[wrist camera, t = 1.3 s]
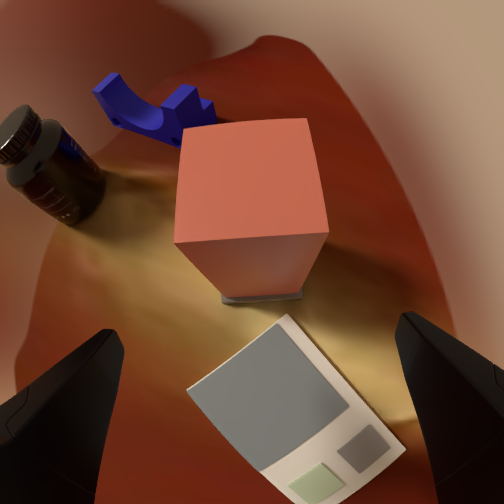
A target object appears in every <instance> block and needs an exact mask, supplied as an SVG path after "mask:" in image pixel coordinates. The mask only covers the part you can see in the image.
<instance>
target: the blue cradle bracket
mask: <svg viewBox="0 0 504 504" xmlns="http://www.w3.org/2000/svg"><path fill="white" fill-rule="evenodd" d="M92 92H93V93H94V95H95V97H96V98H97V100H98V102H99V103H100V105H101V107H102V108H103V110H104V111H105V113H106V114H107V116H108V118H109V119H110V121H111V122H112V124H113V125H114V126H116V127H119V128H122V129H128V130H130V131H133V132H136V133H139V134H142V135H145V136H148V137H151V138H153V139H156V140H159V141H162V142H164V143H167V144H170V145H172V146H175V147H178V148H180V149H181V146H182V138H183V130H184V129H187V128H193V127H200V126H208V125H215V123H216V122H217V117H216V113H215V109H214V105H213V101H210V100H206V99H202V98H199V94H198V91H197V87H194V86H190V85H185V84H182V85H181V86H180V87H179V88H178V89H177V90H176V91H175V92H174V93H173V94H172V95H171V96H170V97H169V98H168V99H167V100H166V101H165V102H164V103H163V104H162V105H161V109H160V108H157V107H155V106H153V105H151V104H149V103H147V102H145V101H144V100H142V99H141V98H140V97H138V96H137V95H136V94H135V93H134V92H133V91H132V90H131V89H130V88H128V86H127V85H126V83H125V82H124V81H123V79H122V78H121V76H120V74H117V73H111V74H110V75H108V76H107V77H106V78H105V79H104V80H103V81H102V82H101V83H100V84H99V85H98V86H97V87H95V88H94V89H93V90H92Z"/></svg>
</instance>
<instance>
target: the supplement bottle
mask: <svg viewBox="0 0 504 504" xmlns="http://www.w3.org/2000/svg"><path fill="white" fill-rule="evenodd" d="M0 165H2V166H3V167H5V177H6V180H7V182H8V184H9V186H10V187H11V188H12V189H13V190H15V191H16V192H18V193H19V194H20V195H22V196H23V197H25V198H26V199H27V200H29V201H30V202H31V203H33V204H34V205H36V206H37V207H39V208H40V209H42V210H43V211H45V212H46V213H47V214H49V215H50V216H52V217H54V218H55V219H57V220H58V221H60V222H61V223H64V224H68V225H72V224H76V223H79V222H81V221H83V220H85V219H86V218H87V217H88V216H90V215H91V214H92V212H93V211H94V210H95V209H96V207H97V206H98V204H99V203H100V201H101V199H102V196H103V193H104V189H105V177H104V174H103V172H102V170H101V169H100V168H99V167H98V166H97V164H96V163H95V162H94V161H93V160H92V159H91V158H90V156H89V155H88V154H87V153H86V152H85V151H84V150H83V149H82V147H81V146H80V145H79V144H78V143H77V142H76V141H75V139H73V137H72V136H71V135H70V134H69V132H68V131H67V130H66V129H65V128H64V127H63V125H62V124H61V123H60V122H58V121H57V120H54V119H44V120H41V118H40V116H39V115H38V114H37V113H35V112H34V111H33V110H32V108H31V107H30V106H29V105H26V104H25V105H22V106H19V107H18V108H16V109H15V110H14V111H13V112H12V113H10V114H9V115H8V117H7V118H6V119H5V120H4V121H3V122H2V123H1V125H0Z"/></svg>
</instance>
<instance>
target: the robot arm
mask: <svg viewBox="0 0 504 504" xmlns="http://www.w3.org/2000/svg"><path fill="white" fill-rule="evenodd" d="M395 341H396V345H397V348H398V352H399V356H400V360H401V364H402V369H403V373H404V377H405V380H406V383H407V386H408V389H409V392H410V395H411V398H412V401H413V404H414V407H415V411H416V414H417V417H418V420H419V424H420V427H421V430H422V434H423V437H424V441H425V445H426V448H427V452H428V456H429V460H430V464H431V469H432V473H433V477H434V482H435V487H436V492H437V498H438V503H439V504H504V370H502V369H501V368H500V367H498V366H497V365H495V364H493V363H492V362H491V361H489V360H488V359H486V358H485V357H483V356H481V355H480V354H479V353H477V352H476V351H474V350H473V349H471V348H469V347H468V346H467V345H465V344H464V343H462V342H461V341H459V340H457V339H456V338H454V337H453V336H451V335H450V334H448V333H447V332H445V331H444V330H442V329H440V328H439V327H437V326H436V325H434V324H433V323H431V322H429V321H428V320H426V319H425V318H423V317H422V316H420V315H418V314H417V313H415V312H413V311H410V312H404V313H402V314H401V315H400V317H399V321H398V324H397V328H396V331H395ZM123 358H124V347H123V345H122V342H121V340H120V338H119V336H118V334H117V332H116V331H115V330H114V329H102V330H101V331H100V332H98V333H97V334H95V335H94V336H93V337H91V338H90V339H89V340H87V341H86V342H85V343H83V344H82V345H81V346H79V347H78V348H77V349H75V350H74V351H73V352H71V353H70V354H68V355H67V356H66V357H64V358H63V359H62V360H61V361H59V362H58V363H57V364H55V365H54V366H53V367H51V368H50V369H49V370H47V371H46V372H45V373H43V374H42V375H41V376H39V377H38V378H37V379H36V380H34V381H33V382H32V383H30V385H28V386H26V387H25V388H24V389H23V390H21V391H20V392H19V393H17V394H16V395H15V396H13V397H12V398H11V399H9V400H8V401H6V402H5V403H3V404H2V405H0V504H94V501H95V493H96V487H97V481H98V475H99V470H100V465H101V459H102V455H103V450H104V445H105V441H106V436H107V432H108V428H109V423H110V419H111V415H112V411H113V407H114V404H115V400H116V396H117V392H118V387H119V381H120V375H121V369H122V364H123Z"/></svg>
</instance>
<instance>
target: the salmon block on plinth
mask: <svg viewBox="0 0 504 504" xmlns="http://www.w3.org/2000/svg"><path fill="white" fill-rule="evenodd" d="M328 234H329V228H328V221H327V215H326V210H325V204H324V198H323V193H322V187H321V182H320V177H319V172H318V167H317V162H316V157H315V153H314V148H313V144H312V139H311V135H310V130H309V126H308V122H307V118H298V119H273V120H257V121H244V122H234V123H224V124H216V125H208V126H200V127H193V128H187V129H184V130H183V138H182V146H181V155H180V164H179V174H178V185H177V197H176V211H175V226H174V244H175V245H176V246H177V247H178V248H179V250H180V251H181V252H182V253H183V254H184V255H185V256H186V257H187V258H188V259H189V260H190V261H191V262H192V263H193V264H194V265H195V267H196V268H197V269H198V270H199V271H200V272H201V273H202V274H203V275H204V276H205V277H206V278H207V279H208V280H209V281H210V282H211V283H212V284H213V285H214V286H215V287H216V288H217V289H218V290H219V291H220V292H221V298H222V303H223V304H237V303H255V302H271V301H285V300H298V299H302V298H303V290H302V285H303V283H304V282H305V280H306V278H307V276H308V274H309V272H310V270H311V268H312V266H313V264H314V262H315V260H316V258H317V256H318V254H319V252H320V250H321V248H322V246H323V244H324V242H325V240H326V238H327V236H328Z"/></svg>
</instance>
